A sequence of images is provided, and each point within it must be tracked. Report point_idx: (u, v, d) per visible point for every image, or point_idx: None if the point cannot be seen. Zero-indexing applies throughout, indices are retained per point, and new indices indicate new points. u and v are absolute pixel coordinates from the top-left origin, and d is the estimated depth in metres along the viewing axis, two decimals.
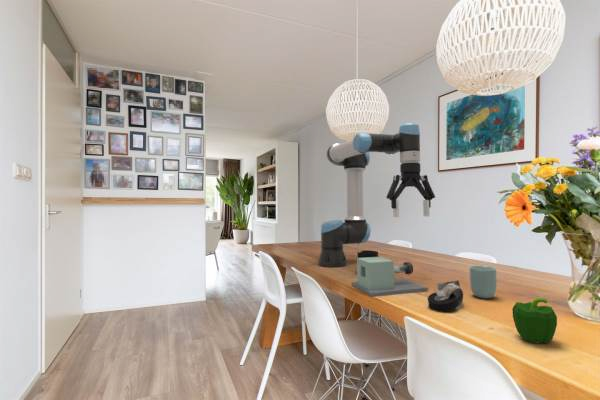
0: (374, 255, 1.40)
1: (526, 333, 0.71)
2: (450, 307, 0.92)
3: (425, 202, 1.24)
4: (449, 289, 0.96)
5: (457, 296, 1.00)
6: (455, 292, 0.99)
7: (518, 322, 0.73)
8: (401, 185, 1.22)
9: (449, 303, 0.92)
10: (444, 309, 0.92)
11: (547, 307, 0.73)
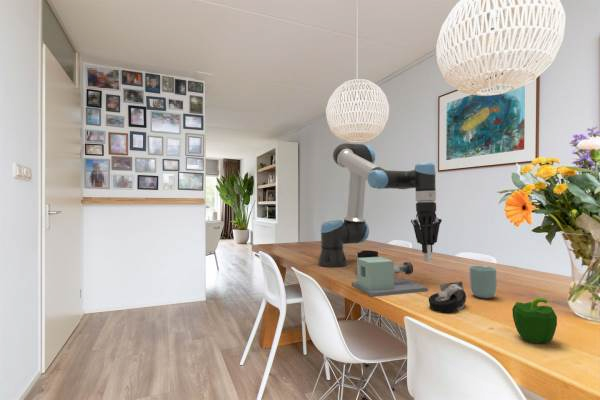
0: (374, 255, 1.40)
1: (526, 333, 0.71)
2: (450, 308, 0.91)
3: None
4: (451, 290, 0.95)
5: (460, 297, 0.98)
6: (458, 293, 0.98)
7: (518, 322, 0.73)
8: (422, 227, 1.23)
9: (449, 304, 0.91)
10: (444, 310, 0.91)
11: (547, 307, 0.73)
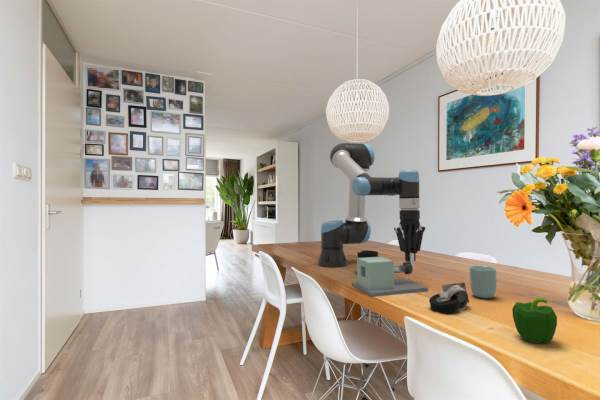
0: (374, 255, 1.40)
1: (526, 333, 0.71)
2: (450, 308, 0.90)
3: None
4: (452, 291, 0.94)
5: (463, 298, 0.97)
6: (461, 294, 0.97)
7: (518, 322, 0.73)
8: (405, 235, 1.22)
9: (449, 305, 0.90)
10: (443, 310, 0.91)
11: (547, 307, 0.73)
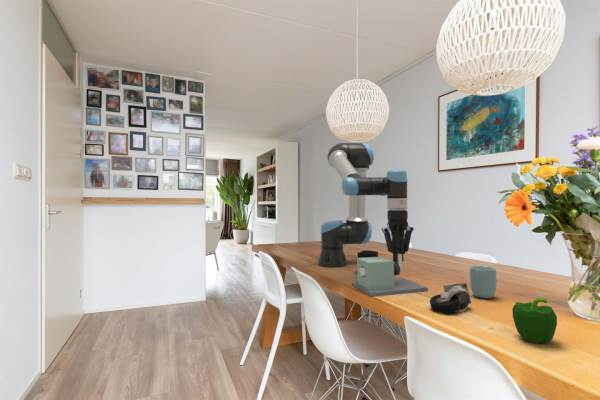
0: (374, 255, 1.40)
1: (526, 333, 0.71)
2: (449, 309, 0.90)
3: None
4: (453, 291, 0.94)
5: (465, 299, 0.96)
6: (462, 295, 0.96)
7: (518, 322, 0.73)
8: (393, 236, 1.20)
9: (448, 305, 0.90)
10: (443, 311, 0.90)
11: (547, 307, 0.73)
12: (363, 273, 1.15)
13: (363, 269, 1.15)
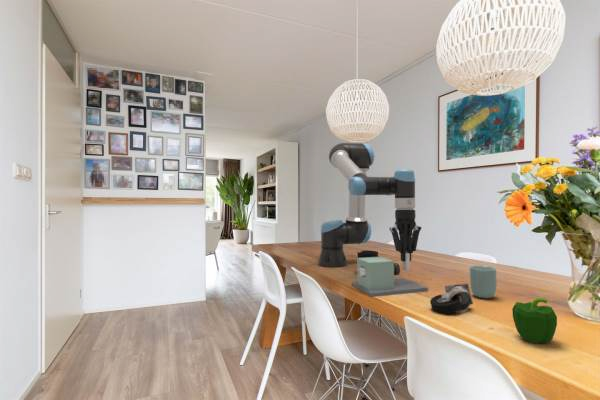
0: (374, 255, 1.40)
1: (526, 333, 0.71)
2: (449, 309, 0.89)
3: None
4: (453, 292, 0.93)
5: (466, 300, 0.95)
6: (464, 296, 0.95)
7: (518, 322, 0.73)
8: (401, 235, 1.21)
9: (448, 305, 0.89)
10: (443, 311, 0.90)
11: (547, 307, 0.73)
12: (363, 273, 1.15)
13: (363, 269, 1.15)
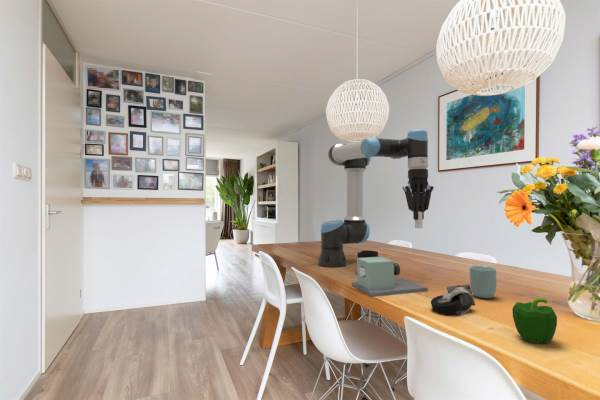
0: (374, 255, 1.40)
1: (526, 333, 0.71)
2: (449, 310, 0.89)
3: None
4: (454, 292, 0.92)
5: (468, 301, 0.94)
6: (466, 297, 0.94)
7: (518, 322, 0.73)
8: (414, 194, 1.24)
9: (448, 306, 0.89)
10: (443, 312, 0.90)
11: (547, 307, 0.73)
12: (363, 273, 1.15)
13: (363, 269, 1.15)
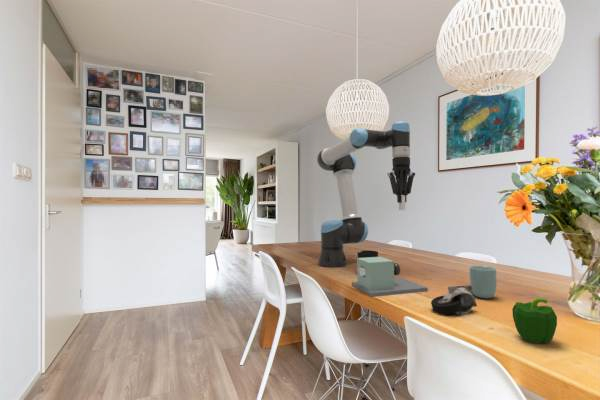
0: (374, 255, 1.40)
1: (526, 333, 0.71)
2: (449, 310, 0.89)
3: None
4: (455, 293, 0.92)
5: (470, 302, 0.93)
6: (467, 297, 0.94)
7: (518, 322, 0.73)
8: (397, 179, 1.38)
9: (447, 306, 0.89)
10: (442, 312, 0.89)
11: (547, 307, 0.73)
12: (363, 273, 1.15)
13: (363, 269, 1.15)
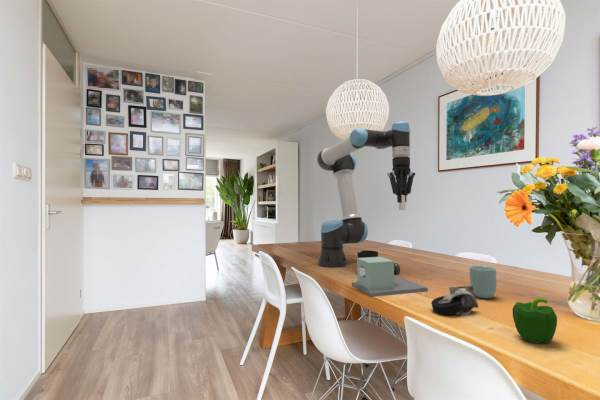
0: (374, 255, 1.40)
1: (526, 333, 0.71)
2: (448, 311, 0.88)
3: None
4: (455, 293, 0.91)
5: (471, 303, 0.93)
6: (468, 298, 0.93)
7: (518, 322, 0.73)
8: (397, 179, 1.38)
9: (447, 307, 0.88)
10: (442, 312, 0.89)
11: (547, 307, 0.73)
12: (363, 273, 1.15)
13: (363, 269, 1.15)
